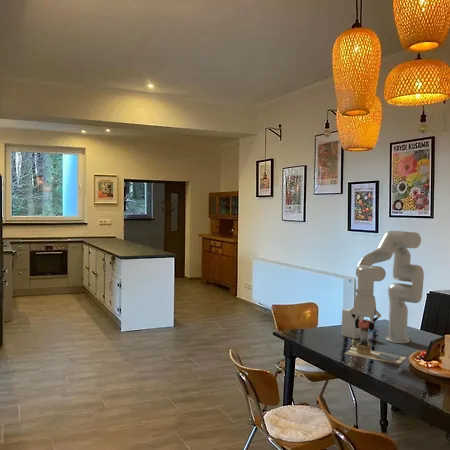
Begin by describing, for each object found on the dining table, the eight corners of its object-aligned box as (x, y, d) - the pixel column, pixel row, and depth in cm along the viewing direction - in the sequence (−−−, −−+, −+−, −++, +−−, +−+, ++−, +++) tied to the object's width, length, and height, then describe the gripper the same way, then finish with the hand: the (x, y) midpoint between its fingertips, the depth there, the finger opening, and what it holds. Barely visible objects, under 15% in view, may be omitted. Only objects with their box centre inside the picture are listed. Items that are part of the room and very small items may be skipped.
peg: (355, 343, 241) (356, 320, 241) (360, 340, 246) (360, 318, 246) (368, 346, 237) (368, 322, 237) (372, 342, 243) (373, 320, 242)
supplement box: (354, 339, 273) (354, 312, 272) (340, 335, 280) (341, 309, 279) (364, 336, 278) (364, 310, 278) (350, 333, 285) (351, 307, 285)
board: (354, 350, 251) (354, 339, 251) (407, 360, 236) (407, 348, 236) (344, 356, 240) (344, 345, 240) (398, 367, 225) (399, 355, 225)
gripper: (345, 291, 243) (344, 327, 244) (380, 296, 233) (379, 333, 234) (351, 289, 249) (350, 324, 250) (385, 293, 239) (384, 330, 240)
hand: (364, 328), depth 242 cm, fingers closed on peg, 6 cm apart
